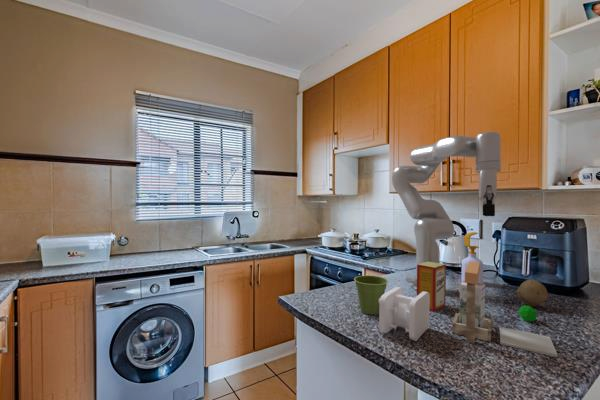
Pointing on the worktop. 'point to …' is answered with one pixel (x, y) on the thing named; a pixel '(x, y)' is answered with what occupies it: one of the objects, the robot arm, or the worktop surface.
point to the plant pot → (370, 292)
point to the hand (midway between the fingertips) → (488, 215)
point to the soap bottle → (471, 258)
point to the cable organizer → (404, 312)
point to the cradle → (471, 321)
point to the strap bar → (472, 273)
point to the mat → (527, 341)
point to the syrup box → (478, 304)
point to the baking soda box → (432, 283)
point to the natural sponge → (532, 292)
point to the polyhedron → (527, 313)
